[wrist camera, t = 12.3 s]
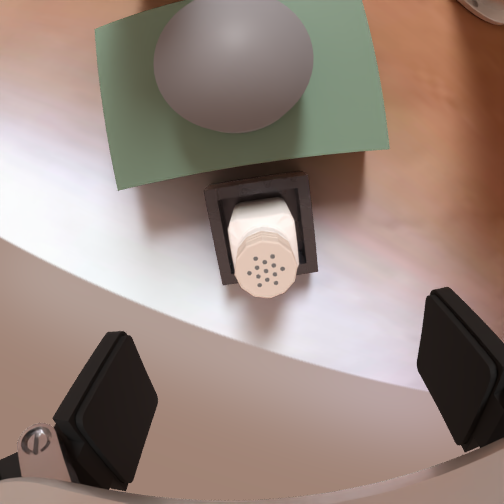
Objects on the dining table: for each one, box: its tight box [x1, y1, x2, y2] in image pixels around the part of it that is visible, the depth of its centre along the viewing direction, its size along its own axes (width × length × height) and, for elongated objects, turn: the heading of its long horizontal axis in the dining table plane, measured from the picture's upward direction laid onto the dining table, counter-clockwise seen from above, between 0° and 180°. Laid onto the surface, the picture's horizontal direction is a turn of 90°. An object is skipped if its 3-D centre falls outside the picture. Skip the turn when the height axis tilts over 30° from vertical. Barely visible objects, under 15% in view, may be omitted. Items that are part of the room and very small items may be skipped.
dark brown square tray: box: [204, 171, 318, 285], centre depth 24 cm, size 7×7×3 cm
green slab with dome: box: [95, 0, 390, 191], centre depth 18 cm, size 18×12×9 cm, turn 99°
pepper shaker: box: [228, 197, 299, 298], centre depth 21 cm, size 4×4×10 cm
